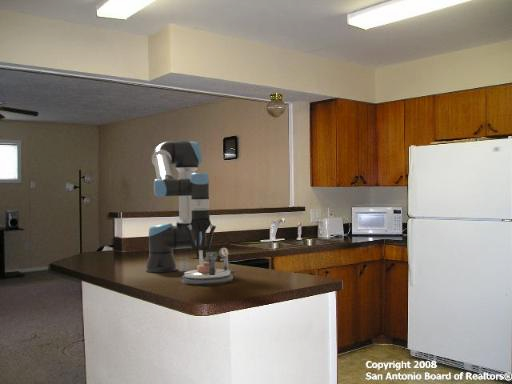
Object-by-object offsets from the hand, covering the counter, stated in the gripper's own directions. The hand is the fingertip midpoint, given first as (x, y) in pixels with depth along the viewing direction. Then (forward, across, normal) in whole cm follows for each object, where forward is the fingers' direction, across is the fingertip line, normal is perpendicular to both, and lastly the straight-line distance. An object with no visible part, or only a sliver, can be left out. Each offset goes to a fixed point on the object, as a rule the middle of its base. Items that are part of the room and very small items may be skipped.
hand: (201, 265), depth 215 cm
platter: (+5, +2, +7) cm, 9 cm away
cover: (+4, +1, +7) cm, 8 cm away
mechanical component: (+8, -2, +28) cm, 30 cm away
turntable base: (+8, +1, +7) cm, 10 cm away
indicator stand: (+8, +8, +18) cm, 21 cm away
